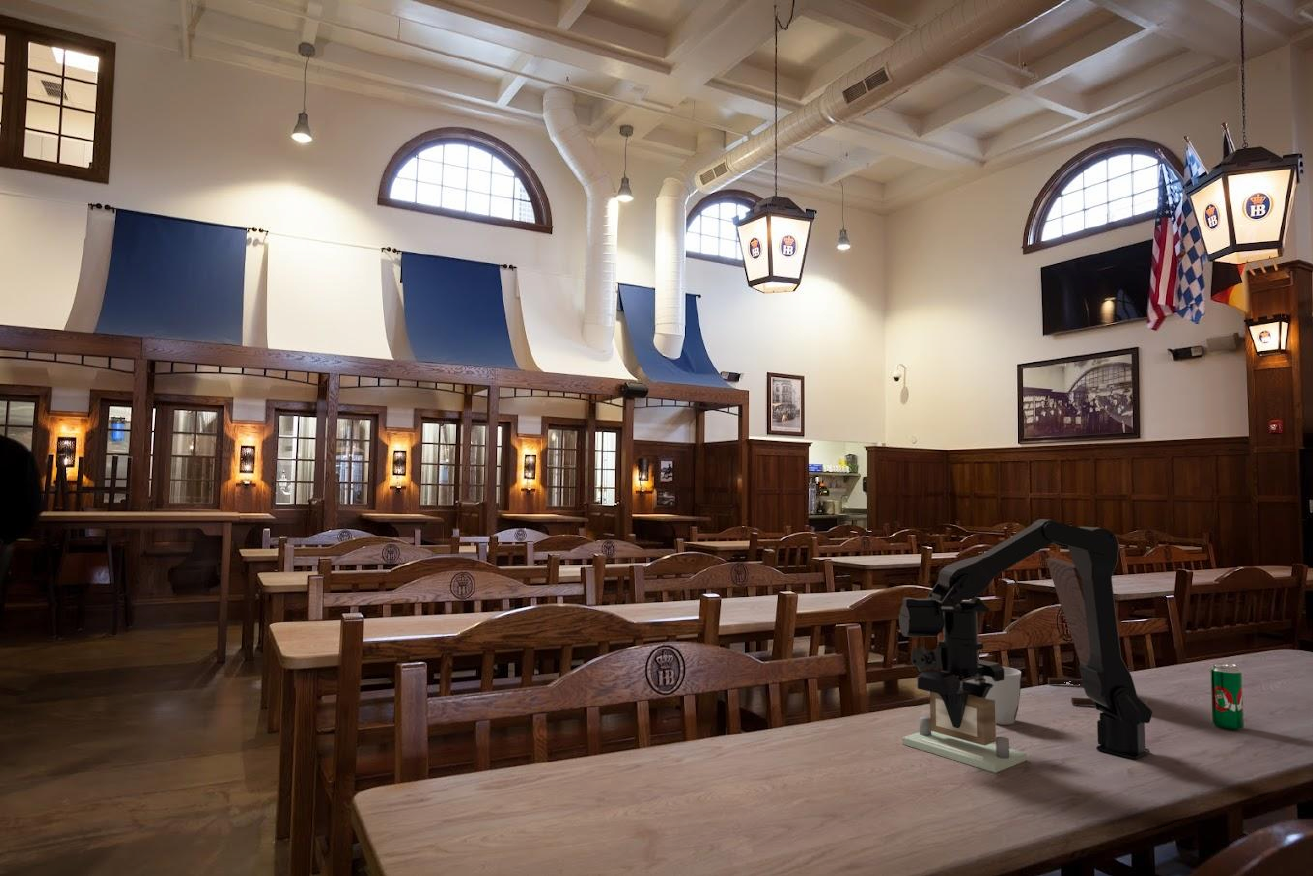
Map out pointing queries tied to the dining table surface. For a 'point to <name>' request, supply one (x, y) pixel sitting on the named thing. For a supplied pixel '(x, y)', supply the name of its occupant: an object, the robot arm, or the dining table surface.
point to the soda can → (1227, 696)
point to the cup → (1005, 695)
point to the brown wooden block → (965, 719)
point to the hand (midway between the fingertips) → (962, 725)
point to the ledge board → (965, 749)
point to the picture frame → (1072, 615)
